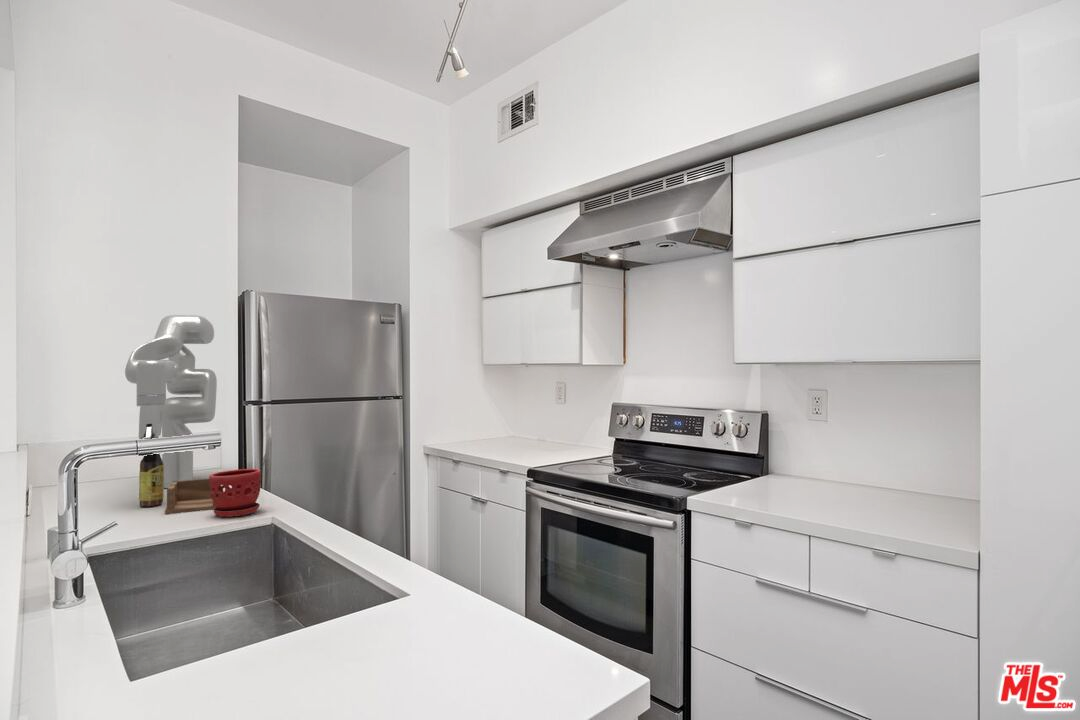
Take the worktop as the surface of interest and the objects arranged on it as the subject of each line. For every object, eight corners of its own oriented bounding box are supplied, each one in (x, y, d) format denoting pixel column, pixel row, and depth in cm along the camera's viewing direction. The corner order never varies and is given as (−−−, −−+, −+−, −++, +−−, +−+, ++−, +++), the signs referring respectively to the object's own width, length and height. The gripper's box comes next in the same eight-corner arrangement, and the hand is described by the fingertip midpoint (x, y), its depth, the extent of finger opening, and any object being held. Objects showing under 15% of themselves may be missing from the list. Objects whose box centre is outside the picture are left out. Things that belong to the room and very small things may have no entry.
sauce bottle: (154, 507, 175) (154, 441, 174) (134, 507, 175) (133, 441, 175) (168, 501, 181) (168, 438, 181) (149, 501, 181) (148, 438, 181)
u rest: (170, 504, 179) (170, 481, 179) (222, 499, 185) (222, 477, 186) (164, 514, 167) (164, 489, 167) (220, 508, 173) (220, 484, 173)
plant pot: (265, 506, 175) (264, 466, 175) (255, 517, 162) (255, 474, 162) (216, 510, 171) (216, 469, 172) (203, 521, 159) (203, 476, 159)
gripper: (141, 399, 184) (141, 457, 184) (131, 402, 169) (132, 465, 169) (169, 398, 188) (169, 455, 188) (162, 401, 172) (162, 463, 172)
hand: (151, 459), depth 178 cm, fingers closed on sauce bottle, 5 cm apart
